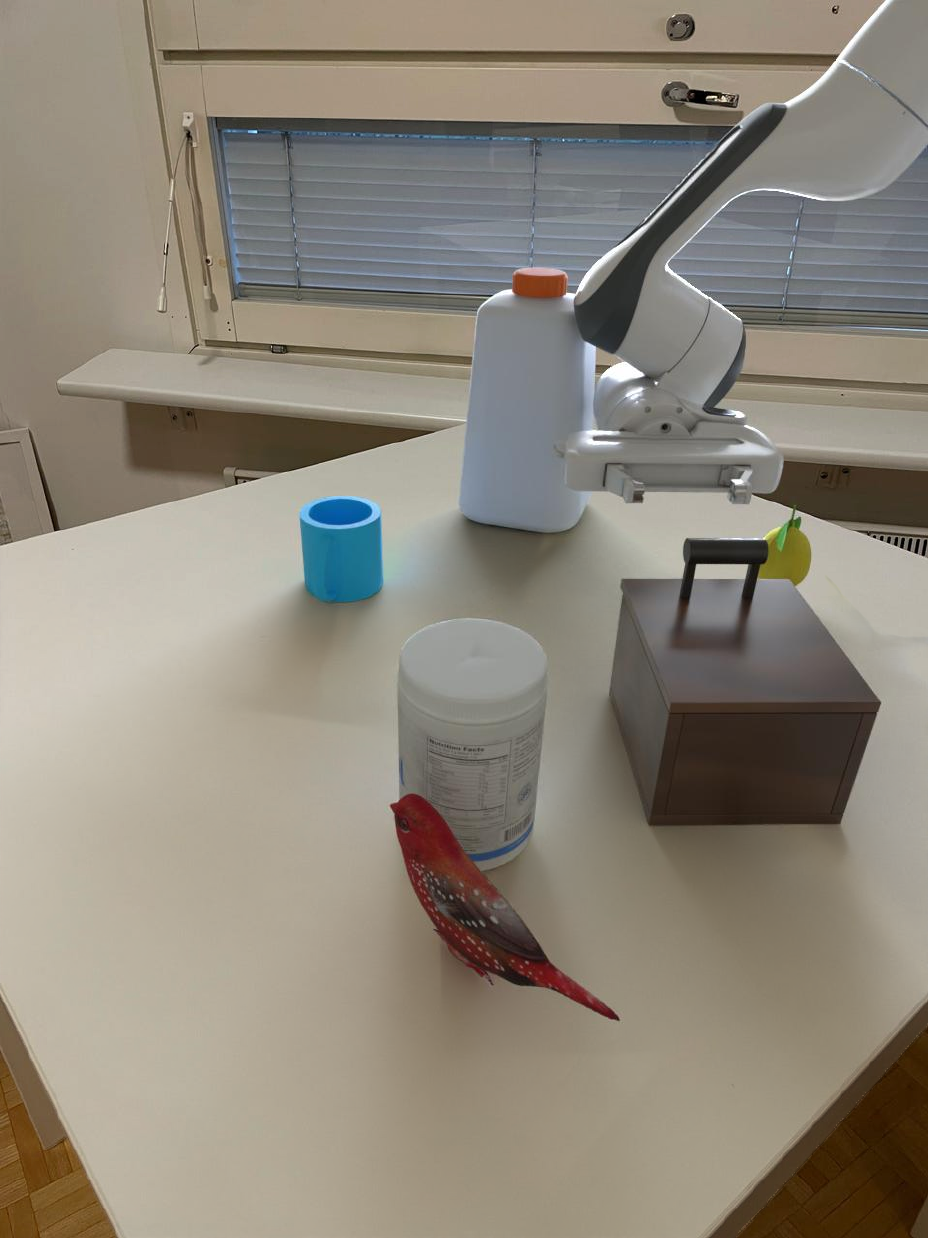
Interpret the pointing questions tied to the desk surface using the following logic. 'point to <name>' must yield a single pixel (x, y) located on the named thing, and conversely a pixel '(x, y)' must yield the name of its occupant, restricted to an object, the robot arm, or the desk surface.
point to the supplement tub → (474, 731)
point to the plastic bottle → (526, 406)
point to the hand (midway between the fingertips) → (689, 496)
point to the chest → (731, 753)
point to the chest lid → (740, 640)
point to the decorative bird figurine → (474, 907)
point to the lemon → (787, 553)
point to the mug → (342, 548)
